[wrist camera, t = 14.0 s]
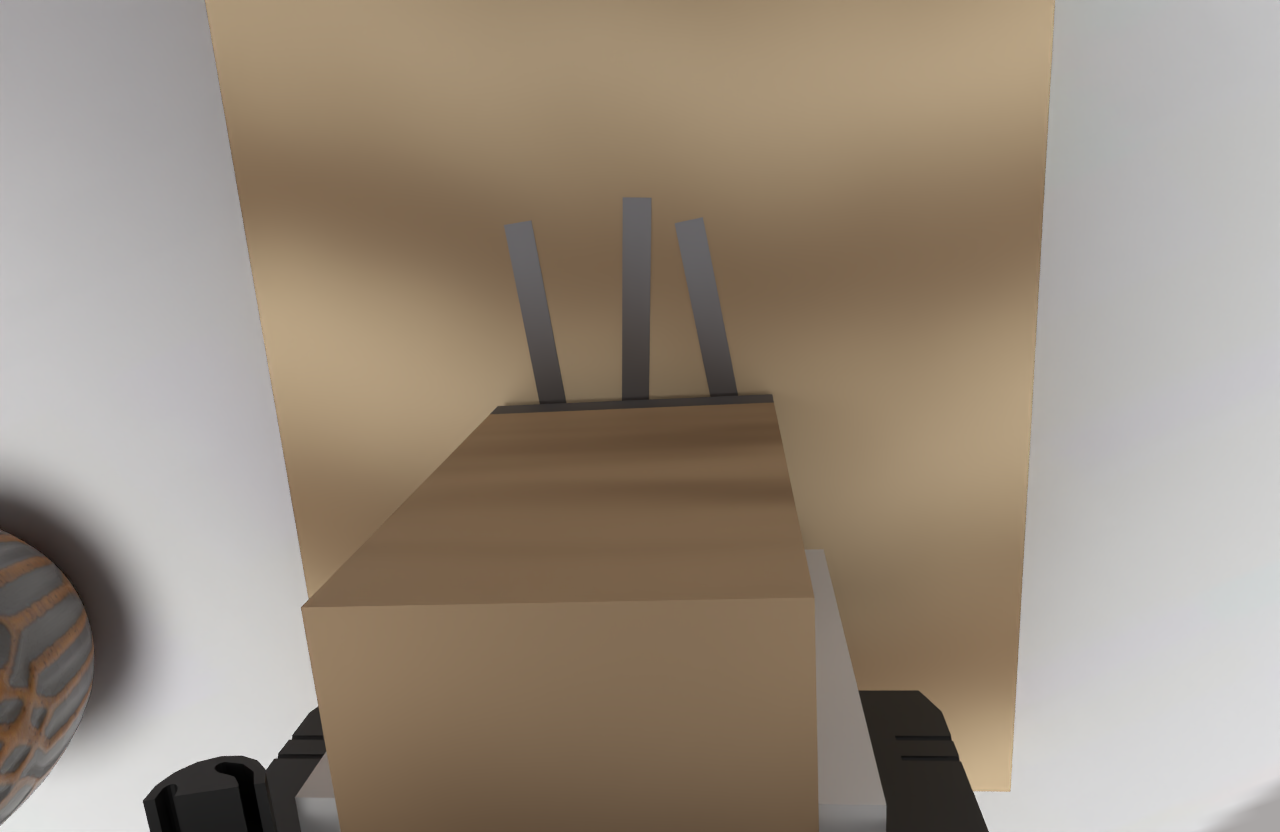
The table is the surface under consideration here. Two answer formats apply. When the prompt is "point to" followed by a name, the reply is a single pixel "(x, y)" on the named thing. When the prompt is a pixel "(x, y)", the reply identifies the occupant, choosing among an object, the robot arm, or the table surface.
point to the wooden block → (580, 632)
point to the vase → (38, 668)
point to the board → (671, 269)
